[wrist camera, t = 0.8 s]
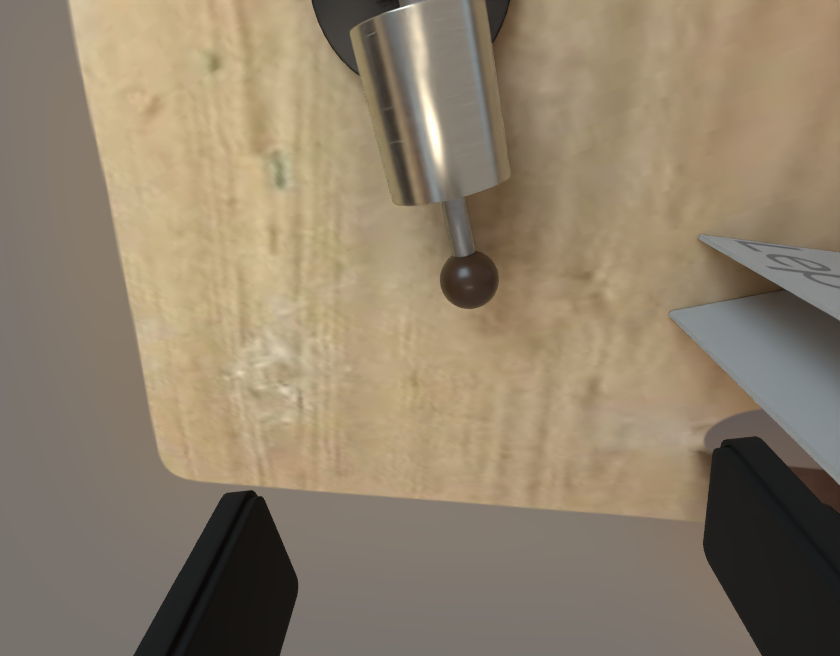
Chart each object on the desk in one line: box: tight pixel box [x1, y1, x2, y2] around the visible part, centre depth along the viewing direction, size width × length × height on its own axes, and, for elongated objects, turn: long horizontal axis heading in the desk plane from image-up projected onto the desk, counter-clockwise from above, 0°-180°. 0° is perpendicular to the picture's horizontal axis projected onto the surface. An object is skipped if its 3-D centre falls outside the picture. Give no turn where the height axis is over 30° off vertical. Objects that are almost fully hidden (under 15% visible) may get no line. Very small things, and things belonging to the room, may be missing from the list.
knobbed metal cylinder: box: [350, 0, 511, 309], centre depth 23 cm, size 17×6×6 cm, turn 13°
